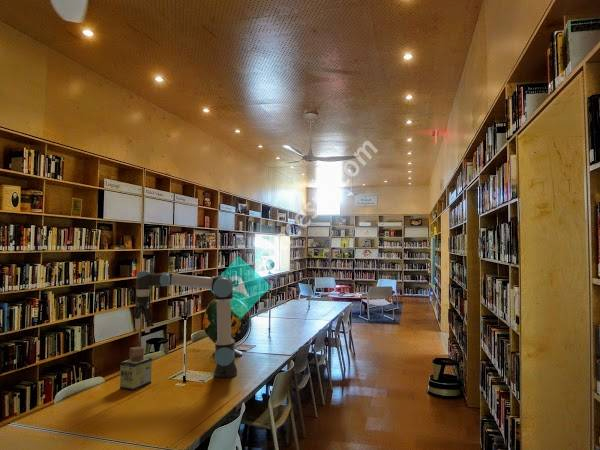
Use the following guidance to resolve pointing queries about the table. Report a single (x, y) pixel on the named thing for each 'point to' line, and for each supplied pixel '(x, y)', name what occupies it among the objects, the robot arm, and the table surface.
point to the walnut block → (136, 354)
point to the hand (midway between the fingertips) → (142, 330)
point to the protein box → (135, 374)
